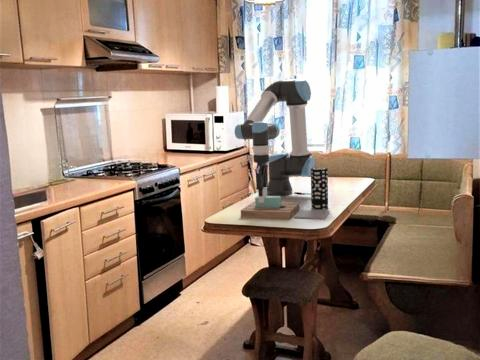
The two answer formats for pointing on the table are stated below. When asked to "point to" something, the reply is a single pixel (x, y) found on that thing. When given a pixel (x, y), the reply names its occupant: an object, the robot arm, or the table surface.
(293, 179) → the table surface
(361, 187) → the table surface
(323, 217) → the felt pad
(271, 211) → the pocket board
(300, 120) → the robot arm
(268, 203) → the teal bar
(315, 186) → the spotted tube
